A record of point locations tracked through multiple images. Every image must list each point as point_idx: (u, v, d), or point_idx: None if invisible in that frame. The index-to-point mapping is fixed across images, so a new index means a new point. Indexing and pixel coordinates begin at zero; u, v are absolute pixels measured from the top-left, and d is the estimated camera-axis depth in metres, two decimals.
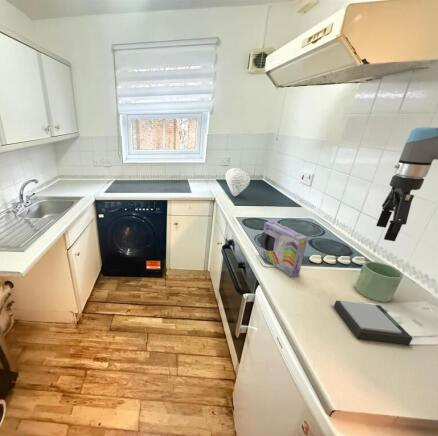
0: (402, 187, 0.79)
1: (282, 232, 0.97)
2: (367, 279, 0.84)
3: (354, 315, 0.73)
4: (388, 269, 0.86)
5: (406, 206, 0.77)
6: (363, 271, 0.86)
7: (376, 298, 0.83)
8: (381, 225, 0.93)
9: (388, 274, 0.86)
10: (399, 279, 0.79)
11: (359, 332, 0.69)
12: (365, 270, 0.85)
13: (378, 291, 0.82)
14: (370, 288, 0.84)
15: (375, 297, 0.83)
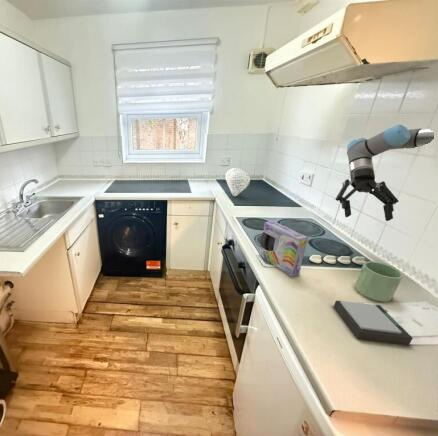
0: (351, 179, 1.02)
1: (282, 232, 0.97)
2: (367, 279, 0.84)
3: (354, 315, 0.73)
4: (388, 269, 0.86)
5: (342, 187, 0.99)
6: (363, 271, 0.86)
7: (376, 298, 0.83)
8: (387, 218, 0.92)
9: (388, 274, 0.86)
10: (399, 279, 0.79)
11: (359, 332, 0.69)
12: (365, 270, 0.85)
13: (378, 291, 0.82)
14: (370, 288, 0.84)
15: (375, 297, 0.83)
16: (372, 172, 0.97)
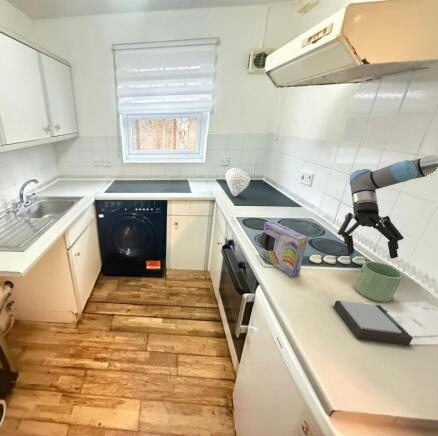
0: None
1: (282, 232, 0.97)
2: (367, 279, 0.84)
3: (354, 315, 0.73)
4: (388, 269, 0.86)
5: (345, 221, 0.96)
6: (363, 271, 0.86)
7: (376, 298, 0.83)
8: (392, 255, 0.88)
9: (388, 274, 0.86)
10: (399, 279, 0.79)
11: (359, 332, 0.69)
12: (365, 270, 0.85)
13: (378, 291, 0.82)
14: (370, 288, 0.84)
15: (375, 297, 0.83)
16: (376, 206, 0.93)
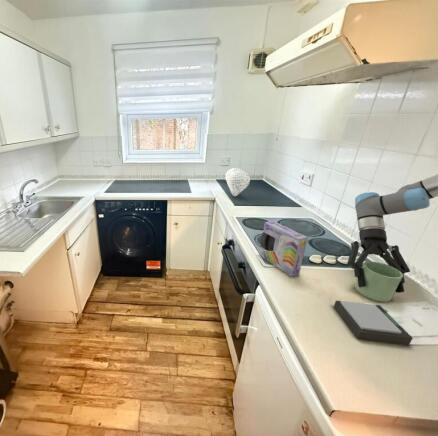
0: (360, 238, 0.92)
1: (282, 232, 0.97)
2: (367, 279, 0.84)
3: (354, 315, 0.73)
4: (388, 269, 0.86)
5: (352, 250, 0.90)
6: None
7: (376, 298, 0.83)
8: (398, 290, 0.83)
9: (388, 274, 0.86)
10: (399, 279, 0.79)
11: (359, 332, 0.69)
12: (365, 270, 0.85)
13: (378, 291, 0.82)
14: (370, 288, 0.84)
15: (375, 297, 0.83)
16: (384, 234, 0.87)
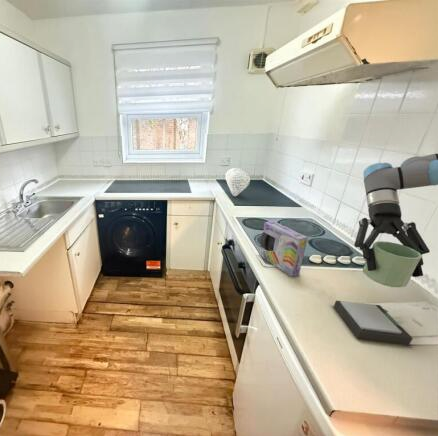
0: (369, 216, 0.79)
1: (282, 232, 0.97)
2: (378, 261, 0.71)
3: (354, 315, 0.73)
4: (403, 250, 0.73)
5: (361, 229, 0.77)
6: None
7: (389, 283, 0.70)
8: (415, 273, 0.70)
9: (403, 256, 0.73)
10: (417, 260, 0.67)
11: (359, 332, 0.69)
12: (376, 250, 0.72)
13: (391, 274, 0.69)
14: (382, 271, 0.71)
15: (388, 282, 0.70)
16: (398, 208, 0.74)
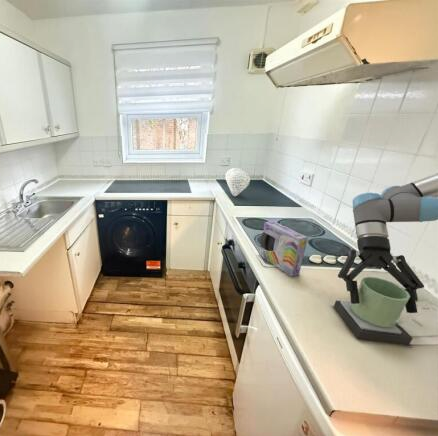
0: (358, 248, 0.77)
1: (282, 232, 0.97)
2: (366, 300, 0.69)
3: (354, 315, 0.73)
4: (392, 287, 0.71)
5: (347, 260, 0.75)
6: (361, 289, 0.71)
7: (377, 323, 0.68)
8: (409, 310, 0.67)
9: (391, 293, 0.71)
10: (405, 301, 0.64)
11: (359, 332, 0.69)
12: (363, 288, 0.70)
13: (379, 315, 0.67)
14: (370, 311, 0.69)
15: (376, 322, 0.68)
16: (387, 243, 0.72)
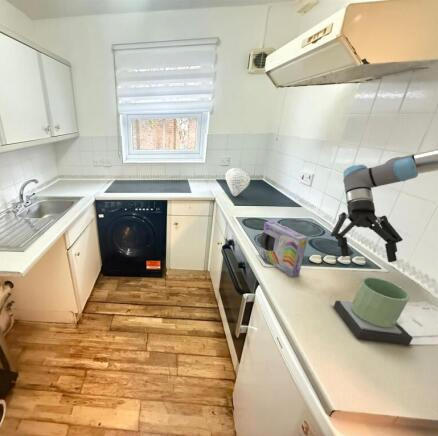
0: (348, 212, 0.90)
1: (282, 232, 0.97)
2: (366, 300, 0.69)
3: (354, 315, 0.73)
4: (392, 287, 0.71)
5: (338, 221, 0.88)
6: (361, 289, 0.71)
7: (377, 323, 0.68)
8: (390, 259, 0.80)
9: (391, 293, 0.71)
10: (405, 301, 0.64)
11: (359, 332, 0.69)
12: (363, 288, 0.70)
13: (379, 315, 0.67)
14: (370, 311, 0.69)
15: (376, 322, 0.68)
16: (372, 205, 0.85)
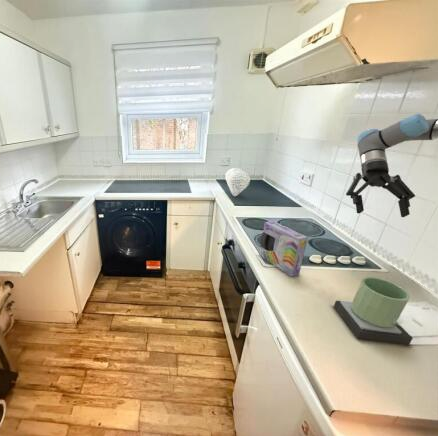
0: (362, 173, 0.95)
1: (281, 232, 0.97)
2: (366, 300, 0.69)
3: (354, 315, 0.73)
4: (392, 287, 0.71)
5: (353, 181, 0.92)
6: (361, 289, 0.71)
7: (377, 323, 0.68)
8: (403, 214, 0.85)
9: (391, 293, 0.71)
10: (405, 301, 0.64)
11: (359, 332, 0.69)
12: (363, 288, 0.70)
13: (379, 315, 0.67)
14: (370, 311, 0.69)
15: (376, 322, 0.68)
16: (386, 165, 0.90)
